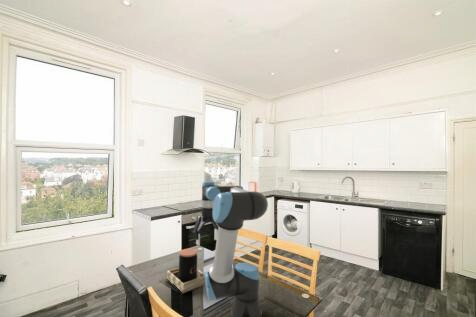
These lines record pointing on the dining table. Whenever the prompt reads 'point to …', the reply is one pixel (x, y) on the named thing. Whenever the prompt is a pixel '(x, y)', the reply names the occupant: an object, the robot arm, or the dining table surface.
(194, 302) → the dining table surface
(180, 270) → the coffee jar
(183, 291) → the walled box
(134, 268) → the dining table surface
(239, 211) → the robot arm
